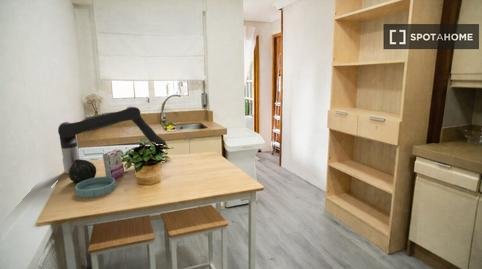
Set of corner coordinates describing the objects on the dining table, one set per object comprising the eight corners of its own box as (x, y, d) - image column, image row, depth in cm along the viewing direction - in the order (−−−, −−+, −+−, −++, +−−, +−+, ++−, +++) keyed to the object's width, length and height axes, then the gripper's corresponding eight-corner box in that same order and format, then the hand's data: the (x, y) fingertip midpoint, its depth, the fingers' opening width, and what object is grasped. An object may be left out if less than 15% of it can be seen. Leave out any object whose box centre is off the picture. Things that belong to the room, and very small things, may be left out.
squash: (104, 167, 185) (85, 151, 182) (94, 177, 171) (73, 159, 167) (90, 182, 187) (71, 166, 184) (78, 192, 173) (57, 175, 170)
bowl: (68, 194, 160) (66, 187, 159) (98, 181, 178) (98, 174, 177) (93, 200, 152) (92, 192, 151) (123, 185, 169) (122, 179, 169)
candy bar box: (118, 173, 190) (115, 149, 186) (125, 174, 188) (122, 149, 185) (105, 179, 180) (102, 154, 176) (112, 180, 178) (108, 154, 174)
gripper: (135, 145, 208) (117, 151, 193) (151, 147, 202) (134, 154, 188) (136, 156, 209) (119, 162, 195) (152, 158, 204) (135, 165, 189)
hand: (126, 158), depth 191 cm, fingers open, 8 cm apart
